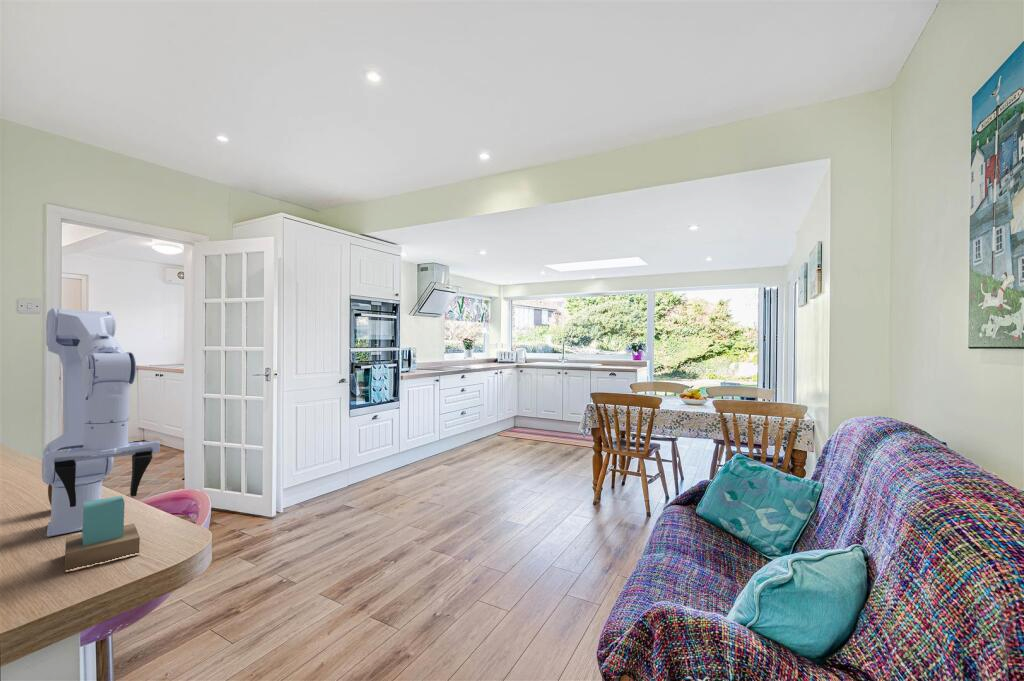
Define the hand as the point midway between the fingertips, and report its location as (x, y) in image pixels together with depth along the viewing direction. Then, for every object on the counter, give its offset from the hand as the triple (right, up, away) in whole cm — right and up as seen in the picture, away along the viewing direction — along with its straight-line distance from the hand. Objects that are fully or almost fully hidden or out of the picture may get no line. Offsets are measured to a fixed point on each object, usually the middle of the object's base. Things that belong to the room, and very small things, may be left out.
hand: (104, 500), depth 76 cm
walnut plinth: (0, -9, 0) cm, 9 cm away
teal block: (0, -6, 0) cm, 6 cm away
